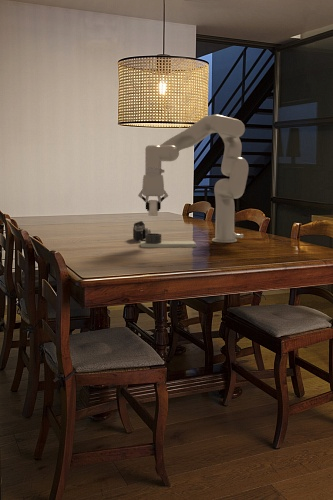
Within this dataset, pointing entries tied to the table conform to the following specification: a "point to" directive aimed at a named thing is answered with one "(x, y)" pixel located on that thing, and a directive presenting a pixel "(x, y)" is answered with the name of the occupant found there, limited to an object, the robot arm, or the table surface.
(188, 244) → the board
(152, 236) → the black faceted cup
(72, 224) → the table surface
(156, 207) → the cylinder
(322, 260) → the table surface
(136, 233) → the camera
